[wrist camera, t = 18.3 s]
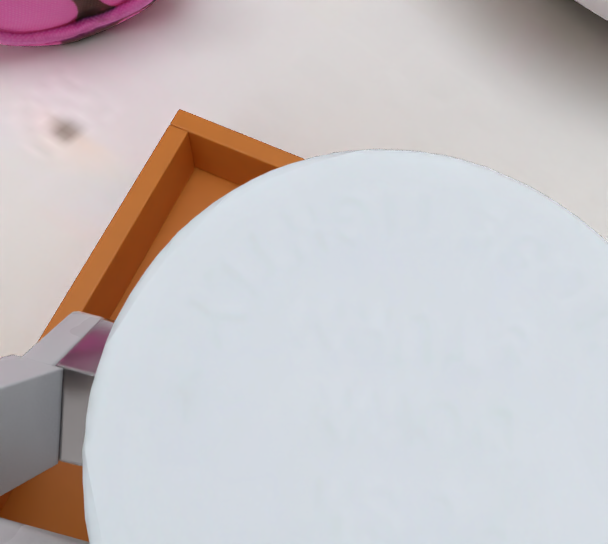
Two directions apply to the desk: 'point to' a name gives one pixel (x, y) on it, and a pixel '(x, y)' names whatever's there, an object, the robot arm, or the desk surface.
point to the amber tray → (141, 269)
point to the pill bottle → (359, 366)
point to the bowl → (596, 7)
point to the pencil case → (61, 19)
